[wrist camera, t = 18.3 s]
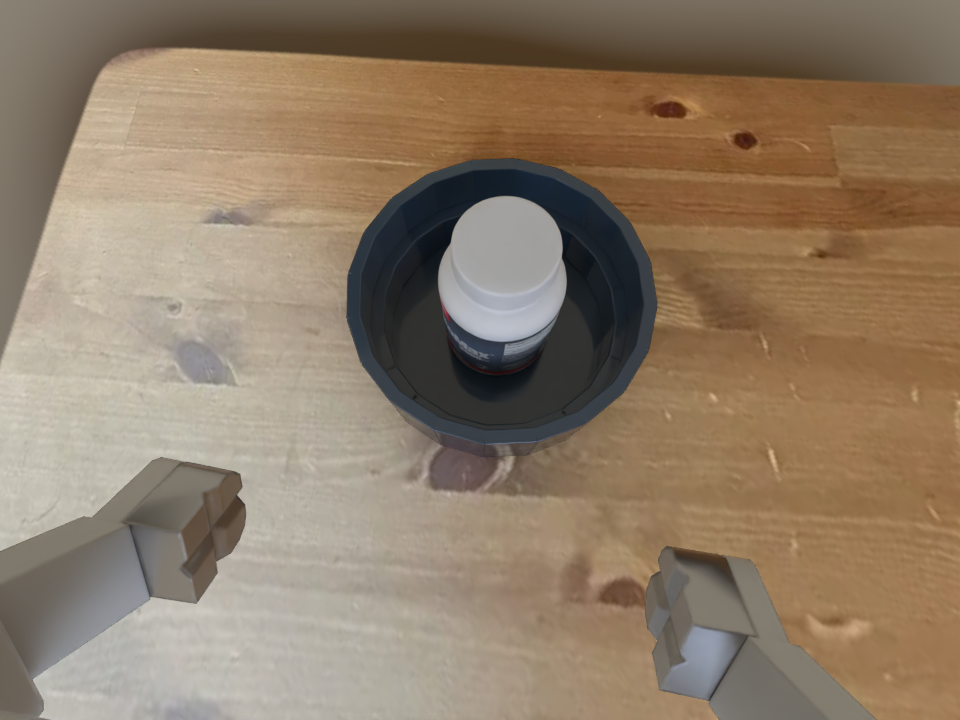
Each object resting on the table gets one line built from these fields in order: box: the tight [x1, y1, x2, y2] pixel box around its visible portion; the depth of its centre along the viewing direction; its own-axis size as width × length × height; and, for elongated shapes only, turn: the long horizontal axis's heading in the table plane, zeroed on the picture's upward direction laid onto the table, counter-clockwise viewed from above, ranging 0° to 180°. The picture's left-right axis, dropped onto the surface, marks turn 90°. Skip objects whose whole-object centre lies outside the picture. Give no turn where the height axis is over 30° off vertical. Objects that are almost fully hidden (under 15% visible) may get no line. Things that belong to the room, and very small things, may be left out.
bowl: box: [346, 158, 657, 457], centre depth 25 cm, size 13×13×6 cm
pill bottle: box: [438, 196, 567, 376], centre depth 22 cm, size 5×5×9 cm
